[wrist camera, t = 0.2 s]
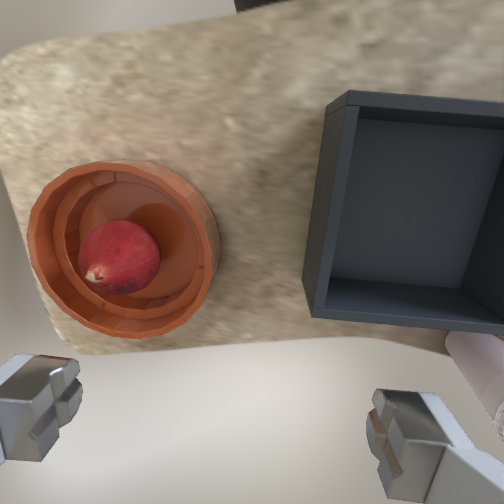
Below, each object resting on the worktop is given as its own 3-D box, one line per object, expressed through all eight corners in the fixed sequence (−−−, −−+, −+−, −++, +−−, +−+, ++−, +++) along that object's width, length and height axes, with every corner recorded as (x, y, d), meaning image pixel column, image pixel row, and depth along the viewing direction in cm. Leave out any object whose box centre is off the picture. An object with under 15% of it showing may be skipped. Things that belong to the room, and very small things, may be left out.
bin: (326, 105, 23) (348, 89, 17) (520, 120, 23) (614, 110, 17) (301, 280, 28) (311, 317, 22) (461, 294, 28) (518, 336, 21)
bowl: (55, 153, 25) (12, 154, 21) (224, 167, 25) (215, 171, 21) (74, 304, 30) (42, 330, 26) (217, 317, 30) (208, 346, 25)
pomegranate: (184, 258, 27) (153, 300, 20) (131, 282, 28) (81, 331, 21) (151, 199, 26) (103, 221, 18) (96, 227, 27) (28, 258, 19)
